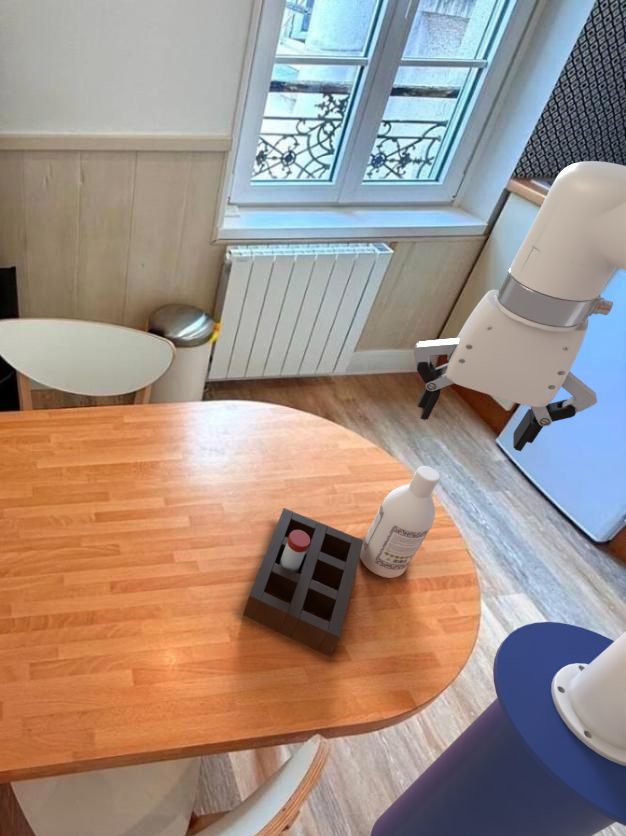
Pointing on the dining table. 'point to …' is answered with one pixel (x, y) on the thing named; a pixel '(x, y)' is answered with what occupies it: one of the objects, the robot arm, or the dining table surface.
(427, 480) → the bath foam
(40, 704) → the dining table surface
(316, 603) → the rack
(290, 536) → the test tube
